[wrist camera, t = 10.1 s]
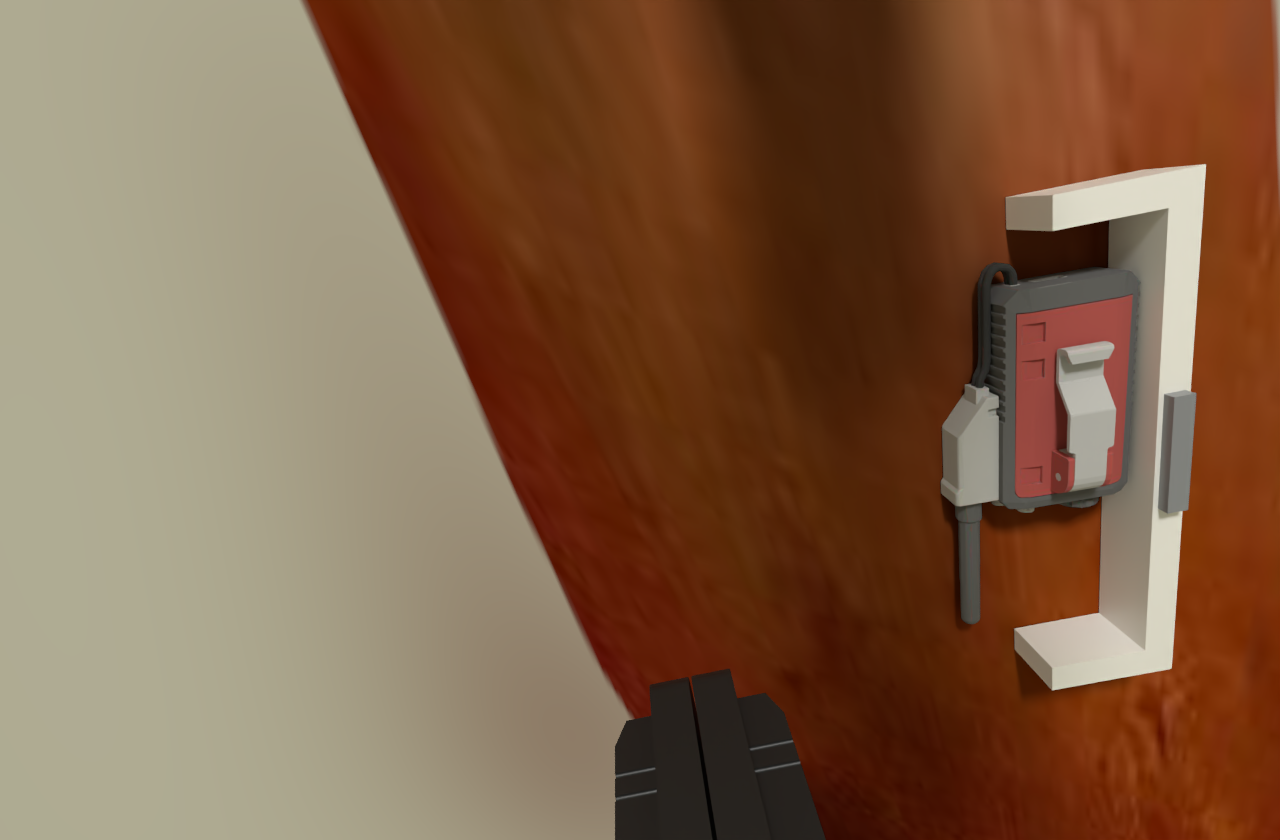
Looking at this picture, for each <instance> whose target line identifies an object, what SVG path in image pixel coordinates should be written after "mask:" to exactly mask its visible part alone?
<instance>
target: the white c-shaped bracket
mask: <svg viewBox="0 0 1280 840" xmlns="http://www.w3.org/2000/svg"><path fill="white" fill-rule="evenodd" d="M1205 174H1206V164H1203V165H1192V166H1181V167H1169V168H1158V169H1147V170H1139V171H1134V172H1129V173H1124V174H1119V175H1114V176H1109V177H1104V178H1100V179H1095V180H1090V181H1085V182H1080V183H1075V184H1070V185H1065V186H1060V187H1055V188H1050V189H1045V190H1040V191H1035V192H1030V193H1025V194H1020V195H1015V196H1010V197H1006V230H1033V231H1056V230H1061V229H1066V228H1071V227H1076V226H1081V225H1086V224H1091V223H1096V222H1101V221H1106V220H1109V249H1108V268H1111V269H1121V270H1130V271H1132V272H1133V274H1134V275H1135V276H1136V277H1137V279H1138V280H1139V281H1140V282H1141V283H1140V284H1139V292H1140V295H1139V296H1138V303H1139V307H1138V309H1137V315H1138V319H1137V324H1136V326H1138V328H1137V330H1136V337H1137V341H1136V342H1135V348H1136V352H1135V355H1134V359H1135V363H1134V370H1135V373H1134V374H1133V381H1134V384H1133V385H1132V391H1133V395H1132V402H1133V405H1132V420H1131V436H1130V451H1129V466H1128V481H1127V483H1126V484H1125V486H1124V487H1123V488H1122V490H1120V491H1118V492H1116V493H1115V494H1113V495H1107V496H1102V514H1101V552H1100V589H1099V613H1095V614H1090V615H1085V616H1079V617H1074V618H1068V619H1063V620H1058V621H1052V622H1047V623H1041V624H1036V625H1030V626H1025V627H1020V628H1014V642H1015V650H1016V652H1017V653H1018V654H1019V655H1020V656H1021V657H1022V658H1023V659H1024V660H1025V661H1026V662H1027V664H1028V665H1029V666H1030V667H1031V668H1032V669H1033V670H1034V671H1035V672H1036V673H1037V674H1038V675H1039V677H1040V678H1041V679H1042V680H1043V681H1044V682H1045V683H1046V684H1047V685H1048V686H1049V687H1050V689H1051V690H1058V689H1063V688H1068V687H1074V686H1079V685H1085V684H1090V683H1096V682H1101V681H1107V680H1112V679H1118V678H1123V677H1129V676H1134V675H1140V674H1145V673H1151V672H1156V671H1162V670H1167V669H1172V656H1173V641H1174V627H1175V612H1176V598H1177V583H1178V568H1179V554H1180V539H1181V525H1182V511H1184V510H1188V503H1189V489H1190V475H1191V461H1192V447H1193V433H1194V419H1195V405H1196V393H1194V392H1191V378H1192V364H1193V349H1194V334H1195V320H1196V305H1197V291H1198V276H1199V261H1200V247H1201V232H1202V217H1203V203H1204V188H1205Z"/></svg>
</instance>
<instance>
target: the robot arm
mask: <svg viewBox="0 0 1280 840" xmlns="http://www.w3.org/2000/svg"><path fill="white" fill-rule="evenodd" d="M692 684H693V691H694V697H695V702H694V698H693V693H692V689H691V685H690V681H689V678H688V677H686V678H681V679H676V680H671V681H666V682H661V683H656V684H652V685H650V702H651V716H649V717H644V718H639V719H634V720H629V721H626V724H625V725H624V728H623V730H622V732H621V735H620V737H619V739H618V741H617V744H616V746H615V774H616V779H615V797H616V802H615V840H826V839H825V836H824V833H823V830H822V827H821V824H820V821H819V818H818V815H817V812H816V809H815V806H814V803H813V800H812V796H811V793H810V790H809V787H808V784H807V781H806V778H805V775H804V772H803V769H802V766H801V764H800V760H799V757H798V754H797V751H796V748H795V745H794V743H793V739H792V736H791V733H790V730H789V727H788V723H787V720H786V717H785V714H784V712H783V711H782V710H781V709H780V708H779V707H778V706H777V705H776V704H775V703H774V702H773V701H772V700H771V699H770V698H769V696H768V695H767V694H766V693H762V694H757V695H752V696H747V697H742V698H737V696H736V692H735V688H734V684H733V680H732V676H731V672H730V669H725V670H720V671H715V672H710V673H705V674H700V675H695V676H692ZM695 703H696V706H695Z"/></svg>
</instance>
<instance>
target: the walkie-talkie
mask: <svg viewBox="0 0 1280 840" xmlns="http://www.w3.org/2000/svg"><path fill="white" fill-rule="evenodd" d="M998 271H1001V272H1002V274H1003V277H1004V282H1003V283H997V284H991V282H992V278H993V276H994V275H995V273H996V272H998ZM1140 283H1141V282H1140V281H1139V280H1138V279H1137V277H1136V276H1135V275H1134V274H1133V272H1132V271H1130V270H1121V269H1111V268H1102V267H1090V268H1084V269H1078V270H1072V271H1067V272H1061V273H1055V274H1049V275H1043V276H1038V277H1032V278H1026V279H1020V280H1017V274H1016V271H1015V269H1014V268H1013V267H1012V266H1011V265H1010V264H1003V263H992V264H990V265H987V266H986V267H985V268H984V270H983V271H982V272H981V275H980V278H979V281H978V363H977V368H976V370H975V372H974V374H973V377H972V383H971V384H966V385H965V393H964V394H963V396H962V397H961V399H960V400H959V402H958V403H957V405H956V406H955V408H954V409H953V411H952V412H951V414H950V415H949V416H948V418H947V419H946V421H945V422H944V424H943V426H942V446H943V478H942V480H941V494H942V495H944V496H945V497H946V498H947V499H948V500H949V501H951V502H952V503H953V504H954V505H955V517H956V518H957V519H958V534H959V578H960V595H961V619H962V620H963V621H964V622H965V623H968V624H975V623H977V622H978V621H979V619H980V520H981V519H982V503H985V502H991V503H992V504H993V505H996V506H1006V507H1007V508H1008V509H1017V510H1018V511H1020V512H1024V513H1030V512H1033V511H1034V508H1035V507H1041V506H1047V505H1053V504H1061V505H1063V506H1067V507H1077V508H1084V507H1090V506H1092V505H1095V504H1096V503H1097V502H1098V501H1099V497H1101V496H1107V495H1113V494H1115V493H1116V492H1118V491H1120V490H1122V488H1123V487H1124V486H1125V484H1126V483H1127V481H1128V466H1129V451H1130V436H1131V420H1132V405H1133V402H1132V395H1133V391H1132V385H1133V384H1134V381H1133V374H1134V373H1135V370H1134V363H1135V359H1134V355H1135V352H1136V348H1135V342H1136V341H1137V337H1136V330H1137V328H1138V326H1136V324H1137V319H1138V315H1137V309H1138V307H1139V303H1138V296H1139V295H1140V292H1139V284H1140Z"/></svg>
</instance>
